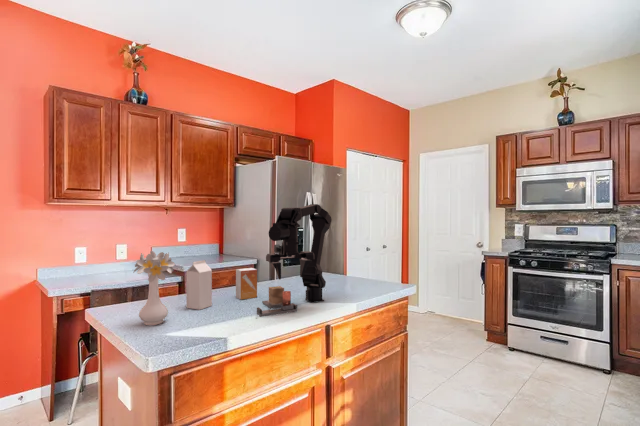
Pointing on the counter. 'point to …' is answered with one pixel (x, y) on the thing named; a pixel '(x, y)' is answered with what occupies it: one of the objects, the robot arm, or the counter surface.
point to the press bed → (271, 304)
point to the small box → (246, 283)
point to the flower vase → (154, 286)
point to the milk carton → (199, 286)
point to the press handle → (286, 301)
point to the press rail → (276, 311)
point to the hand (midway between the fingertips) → (290, 278)
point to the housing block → (276, 294)
